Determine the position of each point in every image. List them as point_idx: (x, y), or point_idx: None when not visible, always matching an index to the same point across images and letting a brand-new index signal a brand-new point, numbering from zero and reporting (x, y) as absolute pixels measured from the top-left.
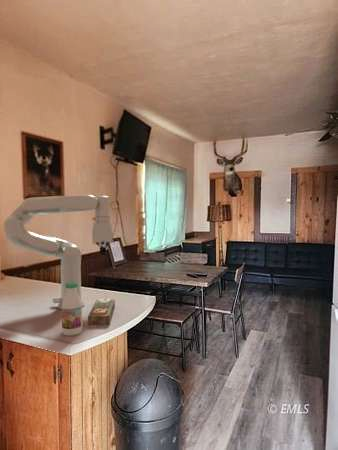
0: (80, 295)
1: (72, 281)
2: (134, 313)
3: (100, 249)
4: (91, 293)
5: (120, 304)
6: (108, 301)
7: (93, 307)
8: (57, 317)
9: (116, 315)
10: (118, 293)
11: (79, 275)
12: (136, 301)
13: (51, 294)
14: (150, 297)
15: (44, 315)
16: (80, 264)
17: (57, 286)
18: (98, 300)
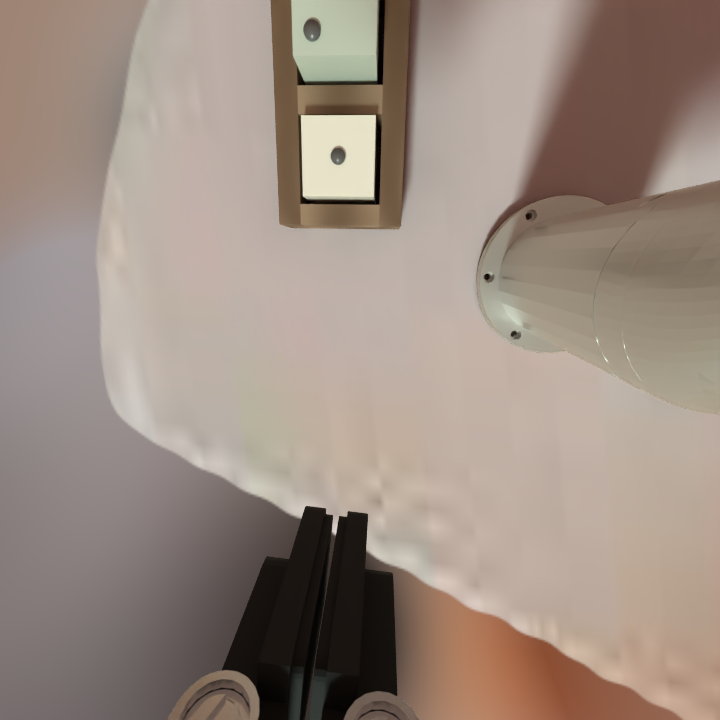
0: (518, 271)
1: (654, 195)
2: (162, 95)
3: (377, 645)
4: (454, 508)
5: (266, 282)
6: (297, 65)
7: (402, 31)
8: (621, 54)
9: (263, 63)
10: (302, 489)
11: (607, 264)
12: (182, 329)
13: (686, 519)
14: (115, 394)
15: (707, 104)
16: (689, 305)
17: (659, 660)
18: (365, 16)
